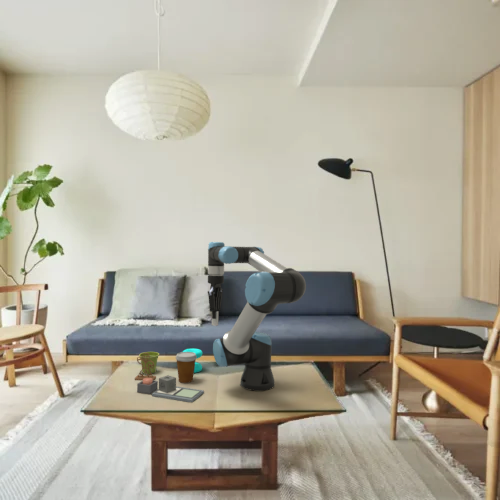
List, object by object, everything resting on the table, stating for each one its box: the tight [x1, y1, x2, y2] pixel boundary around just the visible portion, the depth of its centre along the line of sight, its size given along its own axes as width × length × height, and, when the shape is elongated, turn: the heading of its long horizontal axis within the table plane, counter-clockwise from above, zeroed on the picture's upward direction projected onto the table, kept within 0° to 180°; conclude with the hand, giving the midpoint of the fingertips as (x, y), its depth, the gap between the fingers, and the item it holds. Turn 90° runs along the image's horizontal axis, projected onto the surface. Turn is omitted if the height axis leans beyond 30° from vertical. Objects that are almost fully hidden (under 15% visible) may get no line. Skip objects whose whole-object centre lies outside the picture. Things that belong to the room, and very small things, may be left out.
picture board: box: [151, 385, 205, 403], centre depth 161 cm, size 18×11×1 cm, turn 71°
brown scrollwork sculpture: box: [134, 352, 157, 381], centre depth 179 cm, size 9×4×12 cm, turn 88°
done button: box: [143, 378, 153, 385], centre depth 165 cm, size 4×4×4 cm
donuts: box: [182, 347, 204, 374], centre depth 193 cm, size 10×10×10 cm
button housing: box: [136, 380, 159, 395], centre depth 165 cm, size 6×6×4 cm
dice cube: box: [158, 374, 177, 393], centre depth 163 cm, size 5×5×5 cm
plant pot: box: [138, 351, 160, 375], centre depth 189 cm, size 9×9×9 cm
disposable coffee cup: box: [175, 351, 198, 384], centre depth 178 cm, size 10×10×12 cm
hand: (214, 325), depth 183 cm, fingers closed
